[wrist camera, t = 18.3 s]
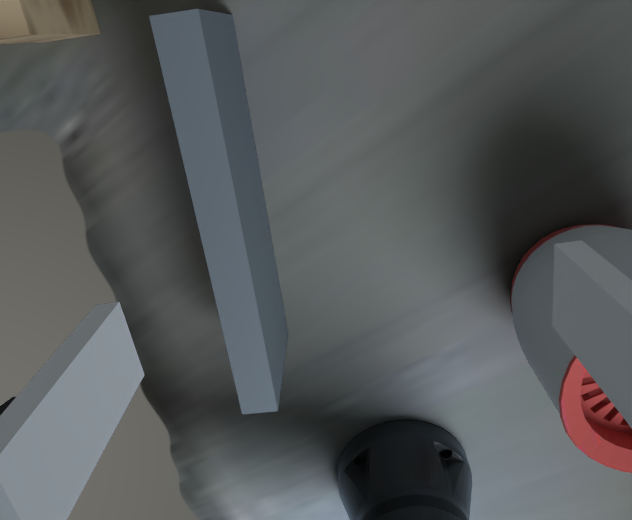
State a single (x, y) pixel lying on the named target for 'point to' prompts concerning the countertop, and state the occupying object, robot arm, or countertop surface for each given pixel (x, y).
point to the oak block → (46, 20)
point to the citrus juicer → (557, 358)
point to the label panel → (226, 195)
